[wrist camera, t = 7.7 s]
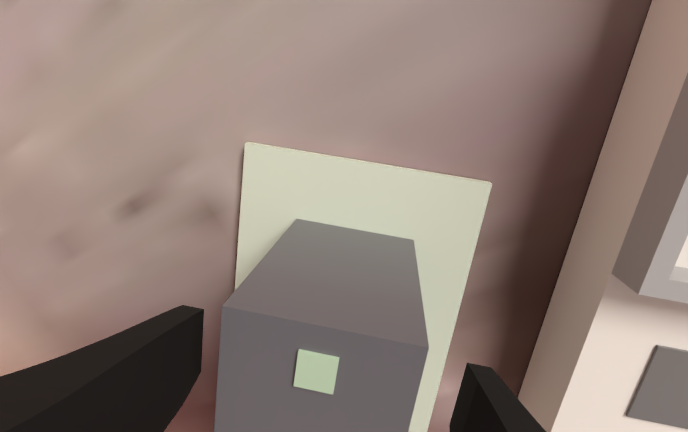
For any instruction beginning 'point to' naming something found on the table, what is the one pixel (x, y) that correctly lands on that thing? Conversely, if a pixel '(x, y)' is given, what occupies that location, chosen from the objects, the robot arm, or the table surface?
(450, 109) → the table surface
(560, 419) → the white block grey frame
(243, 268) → the sage mat
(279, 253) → the charger
